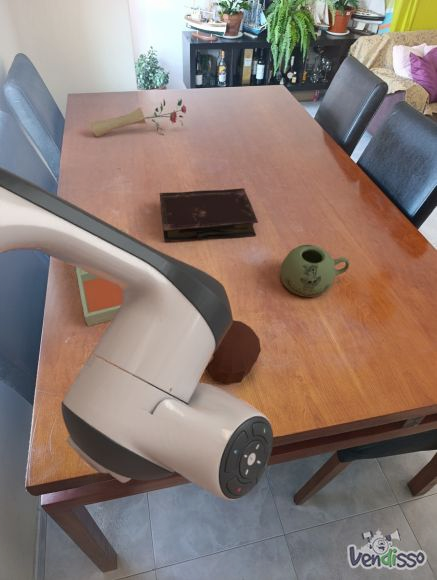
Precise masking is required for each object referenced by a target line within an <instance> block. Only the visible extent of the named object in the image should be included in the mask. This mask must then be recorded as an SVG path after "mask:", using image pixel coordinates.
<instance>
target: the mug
mask: <svg viewBox="0 0 437 580" xmlns="http://www.w3.org/2000/svg"><path fill="white" fill-rule="evenodd" d="M341 263H345V266H344V267H343V268H341V269H336V267H335V266H336V265H338V264H341ZM349 268H350V261H349V259H348V258H346V257H338V258H335V259H333V258H332V256H331V255H330V253H329V252H328V251H327V250H325V249H324V248H322V247H321V246H318V245H314V244H303V245H298V246H296V247H294V248H293V249H291V250H290V251H289V252H288V253H287V255H286V256H285V258H284V259H283V261H282V262H281V265H280V280H281V282H282V284H283V286H284V287H285V288H286V289H287V290H289V291H290V293H293V294H296V295H297V296H301V297H307V298H315V297H321V296H322V295H324V294H326V293H327V292H328V291H329V290H330V289H331V287H332V285H333V283H334V282H335V277H338V276H339V275H342V274H344V273H346V272H347V271H348V270H349Z"/></svg>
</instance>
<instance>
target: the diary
mask: <svg viewBox="0 0 437 580" xmlns="http://www.w3.org/2000/svg"><path fill="white" fill-rule="evenodd" d="M159 202H160V203H159V205H160V213H161V221H162V222H161V223H162V229H163V240H164V241H165V242H188V241H190V242H191V241H198V240H207V239H238V238H247V237H256V236H257V233H256V230H255V228H254V224H257V223H259V220H258V218H257V216H256V213H255V211H254V208H253V205H252V204H251V201H250V198H249V196H248V194H247V192H246V189H245V187H242V188H230V189H213V190H212V189H209V190H208V189H207V190H206V189H205V190H192V191H179V192H174V191H173V192H159Z"/></svg>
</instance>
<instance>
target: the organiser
mask: <svg viewBox="0 0 437 580" xmlns="http://www.w3.org/2000/svg"><path fill="white" fill-rule="evenodd" d="M120 230H121V231H123V232H125V233H126V230H125V229H124V228H123V229H120ZM74 268H75V273H76V278H77V284H78V290H79V295H80V300H81V307H82V311H83V312H82V313H83V316H84V317H83V318H84V319H85V322H86V326H87V327H90V326H95V325H98V324H102V323H103V324H104V323H106V322H111V321H112V319H113V318H114V316H115V314H116V313H117V311H118V309H119V308H120V306H121V303H122V299H123V293H122V290H121V288H120V287H119V286H117V285H115V284H113V283H110V282H108V281H106V280H104V279H101V278H99V277H97V276H95V275H92V274H90V273H88V272H86V271H83V270H81V269H79V268H77V267H74Z"/></svg>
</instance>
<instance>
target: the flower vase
mask: <svg viewBox="0 0 437 580" xmlns="http://www.w3.org/2000/svg"><path fill="white" fill-rule="evenodd" d="M182 104H183V100H182V98H181V99H179V100H177V105H176V109H178V108H179V107H180V109H179V110H176V111H175V110H173V112H169V113H163V114H161V113H162V112H163V110H164V107H165V106H166V100H165V99H163V103H162V102H160V106H159V107H160V112H159V107H156V108H155V109H154V113H153V114H152V115H150V116H144V112H143V110H142V107H141V106H139V107H138V108H136V109H135V110H132V111H131V112H129V113H127V114H125V115H124V114H123V115H122V116H118V117H114V118H110V119H105V120H100V121H96V122H91V124H90V125H91V128H92V131H93V134H94V136H95V137H96V138H98V137H100V136H103V135H106V134H107V133H111V132H112V131H115V130H118V129H121V128H124V127H127V126H130V125H136V124H138V125H139V124H147V122H146V119H151V121H152V122H153V123H155V124H156V126H157V128H156V131H159V129H160V130H161V132H162V135H163V136H164V135H165V134H164V131H163V129H162V128H160V124H159V121H157V122H156V120H155V119H154V118H169V121H170V122H171V123H172V124H175V123H177V120H178V121H180V122H181V127H183V126H184V125H183V124H184V123H183V121H182V120H180V119H178V118H181V119H182V118H184V116H183V115H180V114H179V116H178V112H181V113H183V114H186V113H187V107H186V105H185V104H183V105H182ZM157 113H159V114H157Z"/></svg>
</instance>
